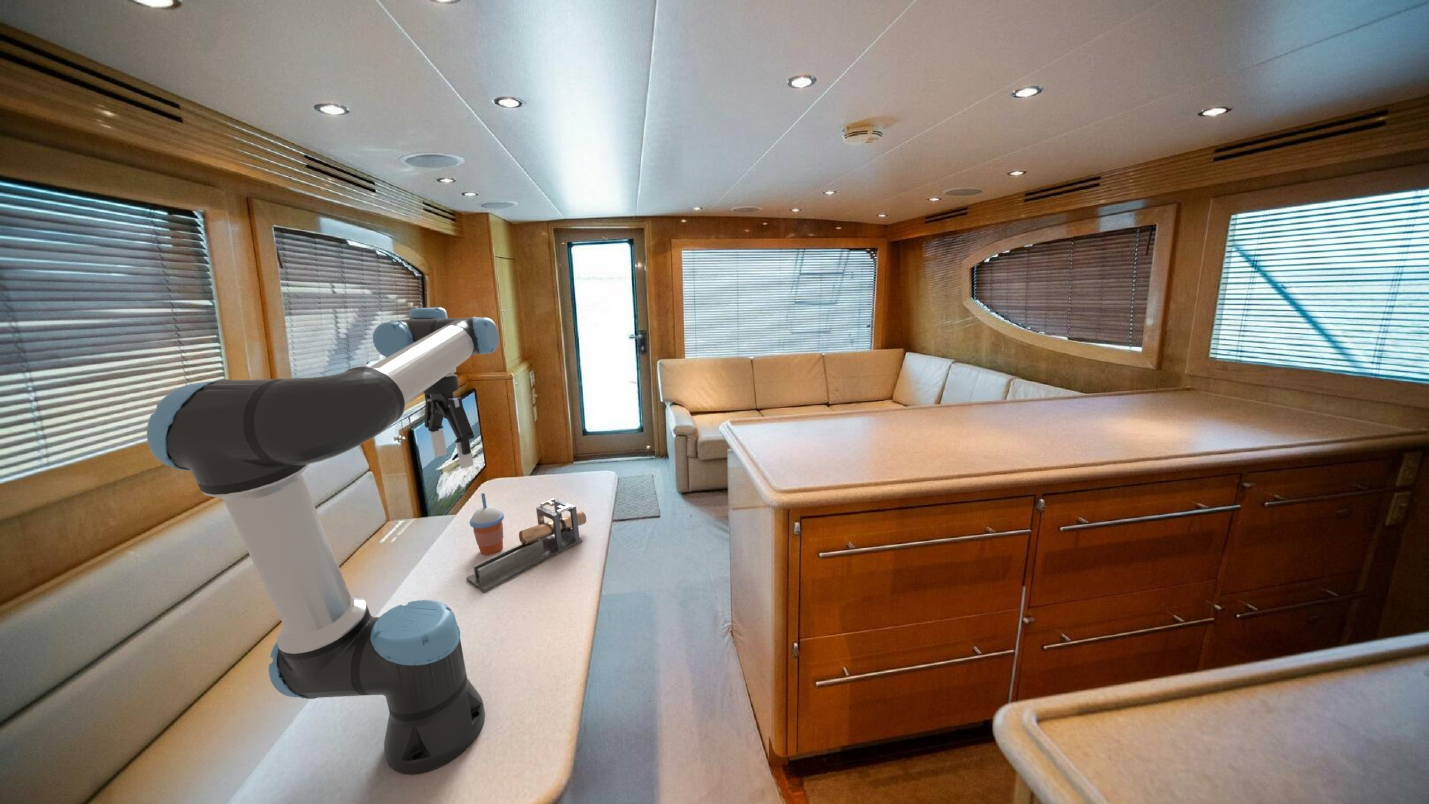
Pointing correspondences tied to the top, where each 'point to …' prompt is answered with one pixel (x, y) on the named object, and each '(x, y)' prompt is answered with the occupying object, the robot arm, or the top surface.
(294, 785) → the top surface
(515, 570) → the collar rail
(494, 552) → the cup with straw
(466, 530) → the top surface
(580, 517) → the tan wooden rod
